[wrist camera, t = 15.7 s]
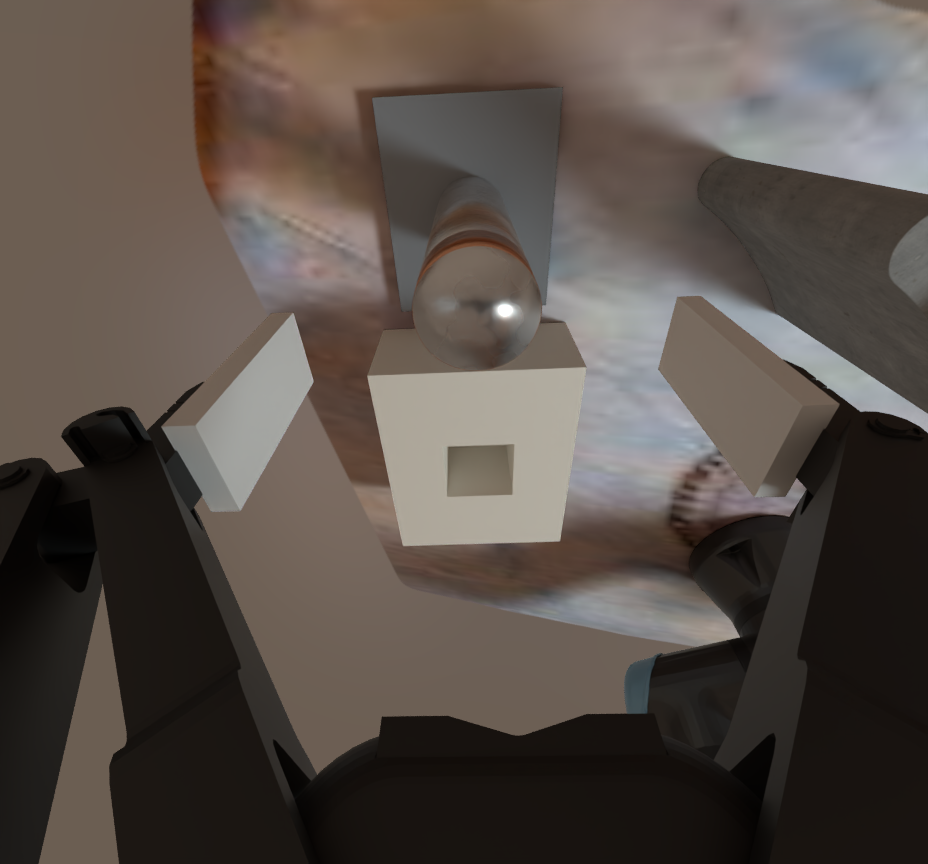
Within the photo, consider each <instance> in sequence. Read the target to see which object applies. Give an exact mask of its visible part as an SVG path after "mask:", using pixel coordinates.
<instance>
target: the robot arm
mask: <svg viewBox="0 0 928 864" xmlns="http://www.w3.org/2000/svg"><path fill="white" fill-rule="evenodd" d="M658 370H659V371H660V372H661V374H662V375H663V376H664V378H665V379H666V380H667V382H668V383H669V384H670V386H671V387H672V388H673V390H674V391H675V392H676V394H677V395H678V396H679V398H680V399H681V400H682V402H683V403H684V404H685V406H686V407H687V408H688V410H689V411H690V412H691V414H692V415H693V416H694V418H695V419H696V420H697V422H698V423H699V424H700V426H701V427H702V428H703V430H704V431H705V432H706V433H707V435H708V436H709V437H710V439H711V440H712V441H713V443H714V444H715V445H716V447H717V448H718V449H719V451H720V452H721V453H722V455H723V456H724V457H725V459H726V460H727V461H728V463H729V464H730V465H731V467H732V468H733V469H734V471H735V472H736V473H737V475H738V476H739V477H740V479H741V480H742V481H743V483H744V484H745V485H746V487H747V488H748V489H749V491H750V492H751V493H752V495H753V496H754V497H784V496H786V495H787V493H788V492H789V490H790V488H791V486H792V485H793V483H794V481H795V480H796V478H797V479H798V480H799V481H800V482H801V483H802V484H803V485H804V486H805V487H806V489H807V490H806V491H805V493H804V495H803V496H802V498H801V499H800V501H799V503H798V504H797V506H796V507H795V509H794V511H793V512H792V514H791V515H790V517H789V518H788V517H781V516H765V517H757V518H751V519H747V520H743V521H740V522H737V523H734V524H731V525H729V526H726V527H724V528H722V529H720V530H718V531H716V532H715V533H713V534H711V535H710V536H708V537H707V538H706V539H705V540H703V541H702V542H701V543H700V544H699V545H698V546H697V547H696V549H695V550H694V551H693V553H692V555H691V557H690V561H689V567H690V570H691V573H692V575H693V577H694V579H695V581H696V583H697V584H698V586H699V587H700V588H701V589H702V591H704V592H705V593H706V594H707V595H708V596H709V597H710V598H711V600H712V601H713V602H714V603H715V604H716V605H717V606H718V607H719V608H720V609H721V610H722V611H723V612H724V613H725V614H726V616H727V617H728V618H729V619H730V620H731V621H732V623H733V624H734V626H735V628H736V630H737V632H738V634H739V636H740V638H735V639H731V640H726V641H721V642H717V643H712V644H708V645H703V646H699V647H695V648H690V649H685V650H681V651H676V652H672V653H667V654H662V653H659V654H656V655H655V656H654V657H651V658H648V659H644V660H640V661H637V662H634V663H633V664H631V665H630V667H629V668H628V670H627V672H626V675H625V681H624V691H625V692H624V693H625V704H626V711H627V714H586V715H583V716H580V717H577V718H574V719H571V720H568V721H565V722H562V723H559V724H556V725H553V726H550V727H547V728H544V729H541V730H538V731H535V732H532V733H529V734H526V735H522V736H515V735H510V734H507V733H503V732H500V731H497V730H493V729H490V728H487V727H483V726H480V725H476V724H473V723H470V722H467V721H463V720H460V719H456V718H453V717H450V716H405V717H404V716H401V717H382V720H381V727H380V734H379V737H376V738H373V739H370V740H368V741H366V742H364V743H362V744H360V745H358V746H356V747H353V748H352V749H350V750H349V751H347V752H346V753H344V754H342V755H341V756H339V757H338V758H336V759H335V760H334V761H333V762H332V763H330V764H329V765H328V766H327V767H325V768H324V769H323V770H322V771H321V772H320V773H319V774H318V775H317V774H316V772H315V770H314V768H313V766H312V764H311V762H310V760H309V758H308V757H307V755H306V753H305V751H304V749H303V748H302V746H301V744H300V742H299V740H298V739H297V736H296V734H295V732H294V730H293V728H292V725H291V723H290V721H289V719H288V716H287V714H286V712H285V710H284V707H283V705H282V703H281V700H280V698H279V696H278V694H277V691H276V689H275V687H274V684H273V682H272V680H271V678H270V675H269V673H268V671H267V669H266V666H265V664H264V662H263V660H262V657H261V655H260V653H259V651H258V648H257V646H256V644H255V641H254V639H253V637H252V635H251V632H250V630H249V628H248V626H247V623H246V621H245V619H244V616H243V614H242V612H241V610H240V607H239V605H238V603H237V601H236V598H235V596H234V594H233V591H232V589H231V587H230V585H229V582H228V580H227V578H226V576H225V573H224V571H223V569H222V567H221V564H220V562H219V560H218V557H217V556H216V553H215V551H214V548H213V546H212V544H211V542H210V539H209V537H208V535H207V533H206V530H205V528H204V526H203V524H202V521H201V519H200V517H199V515H198V513H197V512H196V510H195V509H194V506H195V505H196V503H197V502H198V501H199V499H200V498H201V496H202V497H203V499H204V500H205V502H206V503H207V505H208V507H209V509H210V510H211V512H223V511H224V512H226V511H241V509H242V507H243V505H244V504H245V502H246V500H247V498H248V497H249V495H250V493H251V491H252V490H253V488H254V486H255V484H256V483H257V481H258V479H259V477H260V475H261V474H262V472H263V470H264V468H265V467H266V465H267V463H268V461H269V459H270V458H271V456H272V454H273V453H274V451H275V449H276V447H277V446H278V444H279V442H280V440H281V438H282V437H283V435H284V433H285V431H286V430H287V428H288V426H289V424H290V423H291V421H292V419H293V417H294V416H295V414H296V412H297V410H298V409H299V407H300V405H301V403H302V401H303V400H304V398H305V396H306V394H307V393H308V391H309V389H310V387H311V386H312V384H313V382H314V381H313V377H312V374H311V371H310V367H309V364H308V360H307V357H306V354H305V350H304V347H303V344H302V340H301V337H300V333H299V330H298V327H297V323H296V320H295V316H294V313H293V312H292V313H271V314H270V315H269V316H268V317H267V319H265V321H264V322H263V323H262V324H261V325H260V326H259V327H258V328H257V329H256V330H255V331H254V332H253V333H252V334H251V335H250V336H249V337H248V338H247V339H246V340H245V341H244V342H243V343H242V344H241V345H240V346H239V347H238V349H236V350H235V351H234V353H232V354H231V355H230V356H229V358H228V359H227V360H226V361H225V362H224V363H223V364H222V365H221V366H220V367H219V368H218V369H217V370H216V371H215V372H214V373H213V374H212V375H211V376H210V377H209V378H208V379H207V380H206V381H205V382H202V383H200V384H198V385H196V386H195V387H193V388H191V389H190V390H188V391H186V392H185V393H184V394H183V395H182V396H181V397H180V398H179V399H178V400H177V401H176V404H173V405H172V406H171V407H170V408H169V409H168V410H167V411H168V412H167V413H164V414H163V415H162V416H161V417H160V418H159V419H158V420H157V421H156V422H155V423H154V424H153V425H152V426H151V427H150V428H149V429H148V430H147V431H146V430H145V428H144V427H143V425H142V423H141V422H140V420H139V419H138V417H137V415H136V414H135V412H134V411H133V410H132V409H131V408H127V407H112V408H107V409H103V410H98V411H95V412H93V413H90V414H88V415H86V416H83V417H81V418H79V419H77V420H76V421H74V422H72V423H71V424H70V425H69V426H68V427H66V428H65V429H64V431H63V433H62V438H63V439H64V441H65V442H66V443H67V445H68V446H69V447H70V448H71V450H72V451H73V452H74V454H75V455H76V456H77V457H78V459H79V460H80V461H81V462H82V464H83V465H84V467H82V468H77V469H73V470H68V471H64V472H59V473H56V472H55V471H54V470H53V469H52V468H51V466H50V465H49V464H48V463H47V462H46V461H45V460H43V459H41V458H28V459H23V460H18V461H15V462H12V463H6V464H3V465H1V466H0V864H38V863H39V859H40V855H41V850H42V846H43V842H44V837H45V833H46V828H47V824H48V820H49V815H50V811H51V807H52V802H53V798H54V794H55V789H56V785H57V780H58V776H59V772H60V767H61V763H62V759H63V754H64V750H65V745H66V741H67V737H68V732H69V728H70V723H71V719H72V715H73V711H74V706H75V702H76V698H77V693H78V689H79V684H80V680H81V675H82V671H83V667H84V663H85V658H86V654H87V650H88V645H89V641H90V636H91V632H92V628H93V623H94V619H95V615H96V610H97V606H98V601H99V597H100V593H101V588H102V584H103V587H104V593H105V599H106V605H107V611H108V618H109V624H110V630H111V637H112V643H113V649H114V656H115V662H116V668H117V675H118V681H119V687H120V694H121V700H122V706H123V712H124V719H125V725H126V731H127V742H126V745H125V747H123V748H122V749H120V750H119V751H117V752H116V753H115V754H113V757H112V760H111V763H110V766H109V772H110V791H111V799H112V808H113V816H114V825H115V832H116V841H117V850H118V857H119V864H928V433H927V432H926V431H924V430H923V429H922V428H921V427H920V426H918V425H916V424H914V423H912V422H910V421H908V420H906V419H903V418H900V417H897V416H894V415H891V414H885V413H880V412H866V411H864V412H860V411H859V410H857V409H856V408H855V407H853V406H852V405H851V404H849V403H848V402H847V401H845V400H844V399H843V398H841V397H840V396H839V395H837V394H836V393H835V392H834V391H832V390H831V389H827V386H826V385H824V384H823V383H822V382H820V381H819V380H816V378H815V377H814V376H812V375H811V374H810V373H808V372H807V371H806V370H804V369H803V368H801V367H799V366H797V365H794V364H792V363H790V362H788V361H785V360H782V359H781V358H780V357H778V356H777V355H776V354H774V353H773V352H772V351H771V350H769V349H768V348H767V347H765V346H764V345H763V344H762V343H760V342H759V341H758V340H756V339H755V338H754V337H753V336H751V335H750V334H749V333H747V332H746V331H745V330H744V329H742V328H741V327H740V326H738V325H737V324H736V323H735V322H733V321H732V320H731V319H729V318H728V317H727V316H726V315H724V314H723V313H722V312H721V311H719V310H718V309H717V308H715V307H714V306H713V305H712V304H710V303H709V302H708V301H706V300H705V299H704V298H703V297H701V296H687V297H677V301H676V304H675V308H674V312H673V316H672V319H671V323H670V327H669V331H668V335H667V338H666V342H665V346H664V350H663V353H662V357H661V361H660V365H659V369H658Z"/></svg>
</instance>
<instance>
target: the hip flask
mask: <svg viewBox="0 0 928 864" xmlns="http://www.w3.org/2000/svg"><path fill="white" fill-rule="evenodd" d="M698 196H699V199H700V201H701V202H702V203H703V205H705V206H706V207H707V208H708V209H710V210H711V211H712V212H713V213H714V214H715V215H717V216H718V217H719V218H720V219H721V220H722V221H723V222H724V223H725V224H726V225H727V226H728V227H729V228H730V230H731V231H732V232H733V233H734V234H735V235H736V237H737V238H738V239H739V240H740V242H741V243H742V244H743V246H744V247H745V249H746V250H747V252H748V253H749V255H750V256H751V258H752V259H753V261H754V262H755V264H756V266H757V267H758V269H759V271H760V273H761V275H762V277H763V279H764V281H765V283H766V285H767V287H768V290H769V292H770V295H771V298H772V301H773V304H774V308H775V311H776V313H777V314H778V315H780V316H781V317H783V318H784V319H786V320H787V321H789V322H790V323H792V324H793V325H795V326H796V327H798V328H799V329H801V330H802V331H804V332H805V333H807V334H808V335H810V336H811V337H813V338H814V339H816V340H817V341H819V342H821V343H822V344H824V345H825V346H827V347H828V348H830V349H831V350H833V351H834V352H836V353H837V354H839V355H840V356H842V357H843V358H845V359H846V360H848V361H849V362H851V363H852V364H854V365H855V366H857V367H858V368H860V369H861V370H863V371H864V372H866V373H867V374H869V375H870V376H872V377H873V378H875V379H876V380H878V381H879V382H881V383H882V384H884V385H885V386H887V387H888V388H890V389H891V390H893V391H894V392H896V393H898V394H899V395H901V396H902V397H904V398H905V399H907V400H908V401H910V402H911V403H913V404H914V405H916V406H917V407H919V408H920V409H922V410H923V411H925V412H926V413H928V194H922V193H917V192H912V191H907V190H901V189H896V188H891V187H886V186H881V185H875V184H870V183H865V182H860V181H855V180H849V179H844V178H839V177H834V176H828V175H823V174H818V173H813V172H808V171H802V170H797V169H792V168H787V167H781V166H776V165H771V164H766V163H761V162H755V161H750V160H745V159H740V158H734V157H725V158H721V159H719V160H717V161H716V162H714V163H713V164H711V165H710V166H709V167H708V168H707V169H706V171H705V172H704V174H703V175H702V177H701V179H700V182H699V185H698Z"/></svg>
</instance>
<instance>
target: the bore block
mask: <svg viewBox="0 0 928 864" xmlns="http://www.w3.org/2000/svg"><path fill="white" fill-rule="evenodd" d="M586 368H587V367H586V365H585V363H584V361H583V359H582V357H581V354H580V352H579V350H578V348H577V346H576V344H575V342H574V340H573V338H572V335H571V333H570V331H569V329H568V327H567V325H566V323H565V322H562V323H540V324H539V327H538V330H537V332H536V334H535V336H534V338H533V339H532V341H531V343H530V344H529V345H528V347H527V348H526V349H525V350H524V351H523V352H522V353H521V354H520V355H518V356H517V357H516V358H515V359H513V360H512V361H510V362H508V363H506V364H504V365H502V366H499V367H496V368H494V369H489V370H482V371H469V370H462V369H458V368H455V367H452V366H450V365H447V364H446V363H444V362H442V361H440V360H439V359H437V358H436V357H435V356H434V355H432V354H431V353H430V352H429V351H428V350H427V348H426V347H425V346H424V345H423V343H422V342H421V340H420V338H419V336H418V334H417V332H416V329H393V330H383V332H382V335H381V338H380V341H379V344H378V347H377V349H376V352H375V355H374V358H373V361H372V364H371V366H370V369H369V372H368V375H367V377H368V382H369V387H370V392H371V396H372V401H373V406H374V411H375V415H376V420H377V425H378V430H379V434H380V439H381V444H382V449H383V453H384V458H385V463H386V468H387V472H388V477H389V482H390V487H391V491H392V496H393V501H394V506H395V510H396V515H397V520H398V525H399V530H400V534H401V539H402V544H403V546H421V545H455V544H489V543H523V542H557V541H560V538H561V531H562V525H563V518H564V512H565V505H566V499H567V492H568V485H569V479H570V472H571V466H572V459H573V453H574V446H575V440H576V433H577V427H578V420H579V413H580V407H581V400H582V394H583V387H584V381H585V374H586Z"/></svg>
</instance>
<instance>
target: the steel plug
mask: <svg viewBox="0 0 928 864" xmlns="http://www.w3.org/2000/svg"><path fill="white" fill-rule="evenodd" d="M541 313H542V301H541V294H540V291H539V287H538V284H537V282H536V280H535V277H534V275H533V272H532V270H531V267H530V265H529V263H528V260H527V259H526V256H525V254H524V251H523V249H522V246H521V244H520V241H519V239H518V236H517V234H516V231H515V229H514V226H513V224H512V221H511V219H510V216H509V214H508V211H507V209H506V206H505V204H504V201H503V199H502V196H501V194H500V193H499V191H498V190H497V188H496V187H495V186H494V185H493V184H492V183H490V182H489V181H487V180H485V179H483V178H480V177H476V176H467V177H462V178H459V179H457V180H455V181H454V182H452V183H451V184H450V185H449V186H448V187H447V188H446V189H445V190H444V192H443V193H442V195H441V197H440V199H439V202H438V206H437V210H436V214H435V217H434V221H433V225H432V229H431V233H430V237H429V240H428V244H427V248H426V252H425V256H424V260H423V263H422V267H421V270H420V273H419V277H418V280H417V284H416V288H415V292H414V296H413V302H412V317H413V322H414V326H415V329H416V332H417V334H418V336H419V338H420V340H421V342H422V343H423V345H424V346H425V347H426V348H427V350H428V351H429V352H430V353H431V354H432V355H434V356H435V357H436V358H437V359H439V360H440V361H442V362H444V363H446V364H447V365H450V366H452V367H455V368H458V369H462V370H469V371H482V370H489V369H494V368H496V367H499V366H502V365H504V364H506V363H508V362H510V361H512V360H513V359H515V358H516V357H517V356H518V355H520V354H521V353H522V352H523V351H524V350H525V349H526V348H527V347H528V345H529V344H530V343H531V341H532V339H533V338H534V336H535V334H536V332H537V330H538V327H539V324H540V320H541Z"/></svg>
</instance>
